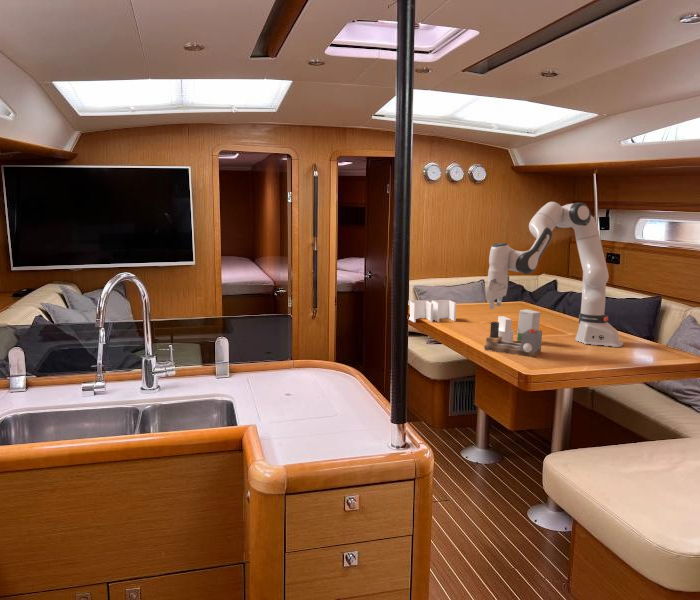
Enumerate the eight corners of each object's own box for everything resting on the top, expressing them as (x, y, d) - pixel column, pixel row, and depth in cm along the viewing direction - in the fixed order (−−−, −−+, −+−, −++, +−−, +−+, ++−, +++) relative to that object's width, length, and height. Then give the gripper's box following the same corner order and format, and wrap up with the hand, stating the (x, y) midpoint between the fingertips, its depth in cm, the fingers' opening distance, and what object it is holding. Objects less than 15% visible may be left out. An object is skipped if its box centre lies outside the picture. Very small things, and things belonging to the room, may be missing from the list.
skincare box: (516, 341, 311) (518, 310, 309) (524, 339, 316) (526, 309, 313) (530, 344, 305) (533, 312, 303) (538, 342, 309) (540, 311, 307)
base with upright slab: (515, 343, 306) (517, 319, 304) (498, 343, 304) (500, 319, 302) (507, 339, 315) (509, 316, 313) (491, 339, 313) (492, 316, 311)
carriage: (501, 340, 296) (502, 321, 295) (496, 343, 289) (497, 324, 288) (491, 339, 299) (492, 320, 297) (486, 342, 292) (487, 323, 290)
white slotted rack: (448, 318, 369) (449, 300, 367) (455, 322, 358) (456, 303, 356) (407, 319, 363) (408, 300, 362) (413, 322, 353) (414, 303, 351)
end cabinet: (540, 351, 289) (542, 330, 288) (533, 357, 279) (535, 335, 277) (527, 350, 292) (529, 329, 291) (520, 355, 282) (521, 333, 280)
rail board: (540, 351, 289) (541, 345, 289) (533, 357, 279) (534, 350, 279) (492, 345, 301) (492, 338, 300) (484, 349, 291) (484, 343, 290)
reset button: (535, 336, 285) (536, 329, 285) (534, 337, 283) (534, 330, 282) (529, 335, 286) (530, 328, 286) (528, 336, 284) (528, 329, 284)
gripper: (497, 280, 279) (494, 311, 281) (510, 276, 296) (508, 305, 299) (483, 279, 282) (481, 309, 284) (497, 275, 300) (495, 304, 302)
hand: (495, 307), depth 292 cm, fingers open, 8 cm apart
